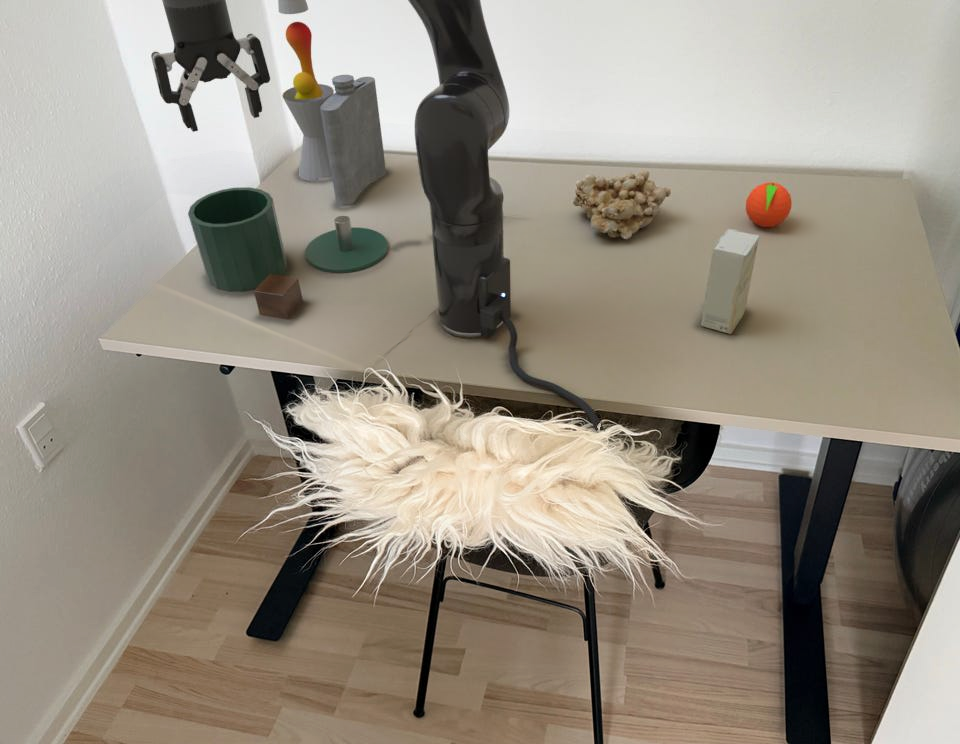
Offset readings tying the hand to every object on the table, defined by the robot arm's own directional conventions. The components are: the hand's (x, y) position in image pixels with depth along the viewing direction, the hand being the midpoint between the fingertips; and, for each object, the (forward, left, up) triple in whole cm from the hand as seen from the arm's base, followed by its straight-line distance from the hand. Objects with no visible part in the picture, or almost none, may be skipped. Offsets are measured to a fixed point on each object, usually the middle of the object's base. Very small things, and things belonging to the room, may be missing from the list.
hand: (225, 122), depth 110 cm
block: (-11, +7, -23) cm, 27 cm away
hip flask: (+4, -29, -24) cm, 37 cm away
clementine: (-63, -50, -24) cm, 84 cm away
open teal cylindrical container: (+1, +2, -23) cm, 24 cm away
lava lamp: (+15, -31, -24) cm, 41 cm away
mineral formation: (-43, -40, -24) cm, 63 cm away
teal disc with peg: (-9, -10, -23) cm, 27 cm away
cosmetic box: (-66, -22, -24) cm, 74 cm away
